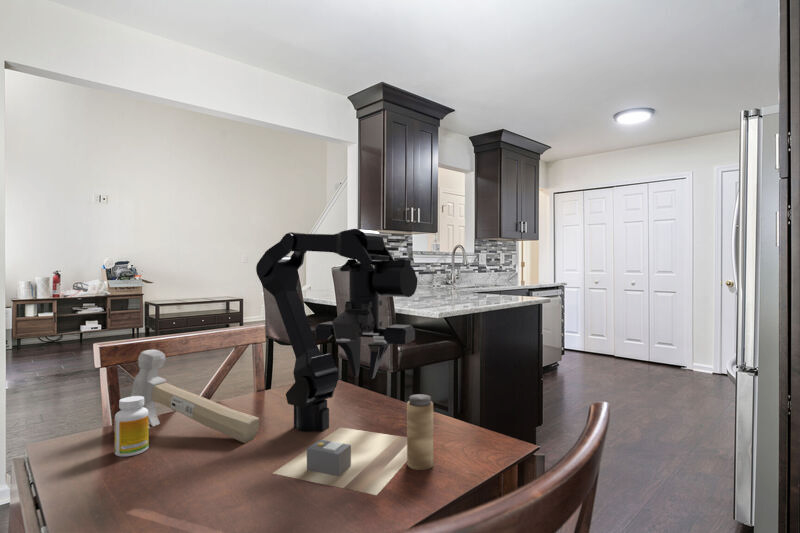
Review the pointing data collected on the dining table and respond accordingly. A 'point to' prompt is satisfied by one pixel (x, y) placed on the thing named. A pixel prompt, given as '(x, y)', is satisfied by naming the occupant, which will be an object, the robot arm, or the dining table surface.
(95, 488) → the dining table surface
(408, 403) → the marker peg
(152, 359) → the hammer
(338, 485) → the plywood panel
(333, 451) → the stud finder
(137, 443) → the supplement bottle
